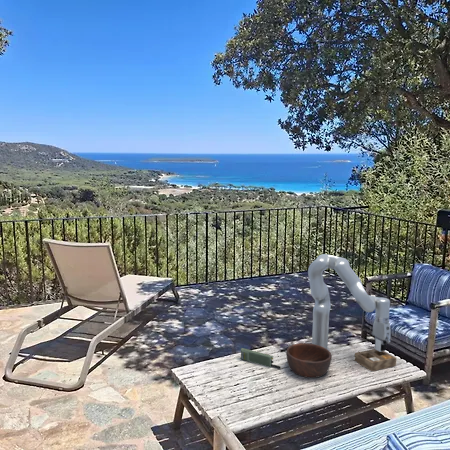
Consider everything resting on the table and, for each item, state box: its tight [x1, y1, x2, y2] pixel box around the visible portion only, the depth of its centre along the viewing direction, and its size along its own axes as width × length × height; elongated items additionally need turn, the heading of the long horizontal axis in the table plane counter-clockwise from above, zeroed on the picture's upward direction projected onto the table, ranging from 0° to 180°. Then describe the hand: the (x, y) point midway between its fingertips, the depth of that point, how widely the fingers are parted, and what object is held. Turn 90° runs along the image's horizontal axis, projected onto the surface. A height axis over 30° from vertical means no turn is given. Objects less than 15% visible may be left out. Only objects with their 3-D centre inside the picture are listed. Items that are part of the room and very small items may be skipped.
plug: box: [374, 337, 385, 352], centre depth 240 cm, size 4×4×8 cm
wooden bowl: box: [285, 342, 333, 379], centre depth 229 cm, size 25×25×10 cm
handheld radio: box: [240, 347, 282, 370], centre depth 235 cm, size 7×3×25 cm
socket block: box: [354, 348, 397, 372], centre depth 238 cm, size 18×14×5 cm
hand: (380, 348), depth 240 cm, fingers closed on plug, 4 cm apart
